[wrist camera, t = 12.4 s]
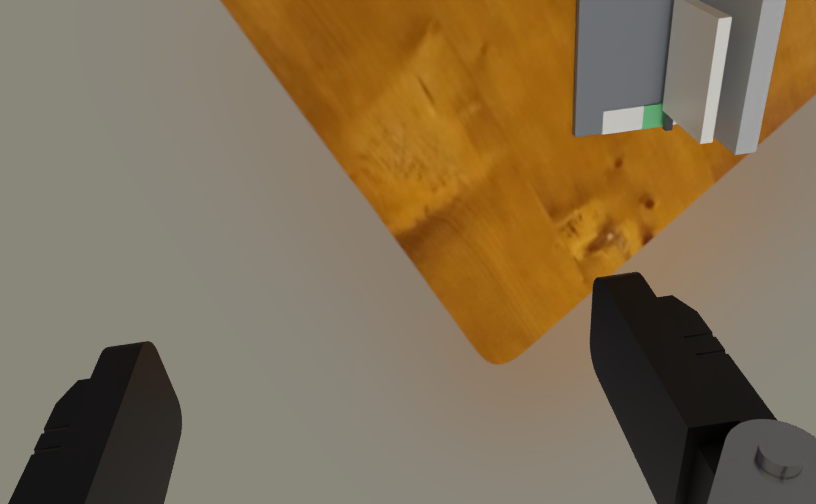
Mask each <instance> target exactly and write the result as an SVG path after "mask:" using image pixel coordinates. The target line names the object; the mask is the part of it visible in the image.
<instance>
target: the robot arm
mask: <svg viewBox="0 0 816 504" xmlns="http://www.w3.org/2000/svg"><path fill="white" fill-rule="evenodd" d="M590 351H591V358H592V362H593V366H594V370H595V373H596V375H597V377H598V379H599V382H600V384H601V386H602V388H603V390H604V392H605V394H606V396H607V399H608V401H609V403H610V405H611V407H612V409H613V411H614V413H615V415H616V418H617V420H618V422H619V424H620V426H621V428H622V430H623V432H624V434H625V437H626V439H627V441H628V443H629V445H630V447H631V449H632V452H633V453H634V456H635V458H636V460H637V462H638V464H639V466H640V468H641V471H642V472H643V475H644V477H645V479H646V481H647V483H648V485H649V487H650V490H651V492H652V494H653V496H654V498H655V500H656V502H657V504H816V438H815V437H814V436H813V435H811V434H810V433H808V432H806V431H805V430H803V429H801V428H799V427H797V426H794V425H791V424H788V423H785V422H781V421H778V420H777V419H776V418H775V417H774V415H773V414H772V413H771V411H770V410H769V409H768V408H767V406H766V405H765V403H764V402H763V400H762V399H761V398H760V397H759V395H758V394H757V392H756V391H755V390H754V388H753V387H752V385H751V384H750V383H749V381H748V380H747V379H746V377H745V376H744V375H743V373H742V372H741V371H740V369H739V368H738V366H737V365H736V364H735V362H734V361H733V360H732V358H731V357H730V356H729V355H728V354H726V353H725V349H724V348H723V346H722V345H721V344H720V342H719V341H718V339H717V338H716V337H713V335H712V331H711V330H710V329H709V327H708V326H707V324H706V323H705V322H704V321H703V319H702V318H701V317H700V315H699V314H698V312H697V311H695V310H694V309H692V308H691V307H689V306H687V305H686V304H685V303H683V302H682V301H680V300H679V299H677V298H676V297H674V296H673V295H670V296H664V297H656V295H655V294H654V292H653V291H652V289H651V288H650V286H649V285H648V284H647V282H646V280H645V279H644V277H643V276H642V275H641V274H640V273H638V272H632V273H625V274H619V275H611V276H605V277H598V278H596V279H595V280H594V284H593V294H592V312H591V329H590ZM181 430H182V415H181V409H180V404H179V401H178V398H177V396H176V394H175V391H174V389H173V387H172V384H171V382H170V380H169V377H168V375H167V373H166V370H165V368H164V365H163V363H162V361H161V358H160V356H159V354H158V352H157V349H156V347H155V346H154V345H153V343H151V342H149V341H147V342H139V343H133V344H126V345H119V346H112V347H107V348H105V349H104V350H103V351H102V353H101V355H100V357H99V359H98V362H97V364H96V366H95V369H94V371H93V373H92V376H91V378H90V379H84V380H78V381H77V382H76V383H75V384H74V385H73V386H72V387H71V388H70V389H69V390H68V391H67V392H66V394H65V395H64V396H63V397H62V398H61V399H60V400H59V401H58V402H57V403H56V404H55V407H54V409H53V411H52V413H51V415H50V417H49V419H48V421H47V423H46V425H45V428H44V434H41V436H40V438H39V440H38V442H37V444H36V446H35V449H34V451H35V453H34V455H31V457H30V459H29V461H28V463H27V465H26V467H25V470H24V472H23V474H22V476H21V478H20V480H19V482H18V484H17V486H16V488H15V491H14V493H13V495H12V497H11V499H10V501H9V503H8V504H164V501H165V497H166V493H167V488H168V485H169V481H170V477H171V473H172V469H173V465H174V461H175V457H176V453H177V449H178V444H179V440H180V436H181Z"/></svg>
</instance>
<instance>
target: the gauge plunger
mask: <svg viewBox="0 0 816 504" xmlns="http://www.w3.org/2000/svg"><path fill="white" fill-rule="evenodd" d="M731 21H732V16H730V15H728V14H726V13H723V12H721V11H719V10H717V9H715V8H713V7H711V6H709V5H707V4H705V3H703V2H701V1H699V0H674V8H673V17H672V26H671V35H670V44H669V53H668V62H667V71H666V81H665V90H664V99H663V108H662V111H664V120H663V129H664V130H665V131H668V130H672V127H673V120H674V121H675V122H676V123H677V124H678V125H679V126H680V127H682V128H683V129H684V130H685V131H686V132H687V133H688V134H690V135H691V136H692V137H693V138H694V139H695V140H696V141H697V142H699V143H700V144H704V143H711V142H712V141H713V135H714V129H715V122H716V116H717V110H718V103H719V97H720V91H721V84H722V78H723V72H724V65H725V59H726V53H727V46H728V40H729V34H730V27H731Z"/></svg>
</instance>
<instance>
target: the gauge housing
mask: <svg viewBox="0 0 816 504" xmlns="http://www.w3.org/2000/svg"><path fill="white" fill-rule="evenodd" d="M699 1H701V2H703V3H705V4H707V5H709V6H711V7H713V8H715V9H717V10H719V11H721V12H723V13H726V14H728V15H730V16H732V21H731V27H730V34H729V40H728V46H727V53H726V59H725V65H724V72H723V78H722V84H721V91H720V97H719V103H718V110H717V116H716V122H715V129H714V135H713V137H714V138H715V139H717V140H718V141H719V142H720V143H721V144H723V145H724V146H725V147H726V148H727V149H729V150H730V151H731V152H732V153H733V154H735V155H738V154H745V153H752V152H756V150H757V144H758V139H759V134H760V129H761V124H762V119H763V114H764V109H765V104H766V99H767V94H768V89H769V84H770V79H771V74H772V69H773V64H774V59H775V54H776V49H777V44H778V39H779V34H780V29H781V24H782V19H783V14H784V9H785V4H786V0H699ZM673 8H674V0H577V10H576V42H575V74H574V107H573V135H574V137H581V136H588V135H595V134H602V135H603V134H610V133H617V132H625V131H632V130H639V129H648V128H655V127H662V126H663V120H664V111H662V108H663V99H664V90H665V81H666V71H667V62H668V53H669V44H670V35H671V26H672V17H673ZM674 124H677V123H676V122H675V121H674V120H673V125H674Z"/></svg>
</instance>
